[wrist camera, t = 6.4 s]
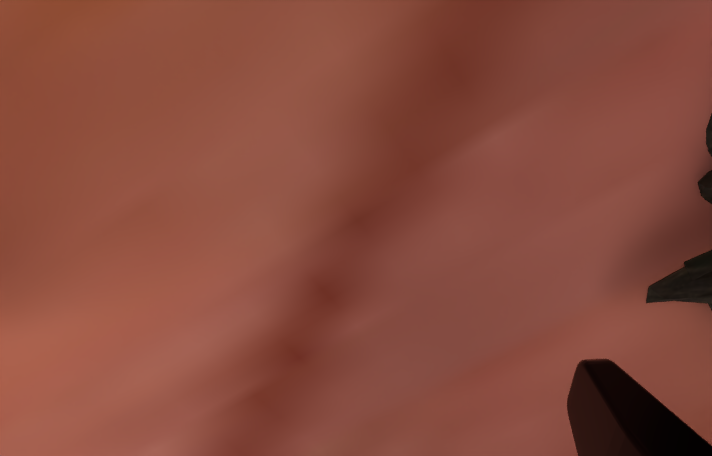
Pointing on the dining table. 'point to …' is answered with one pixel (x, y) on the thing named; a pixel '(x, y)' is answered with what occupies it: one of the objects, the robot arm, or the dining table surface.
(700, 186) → the wood
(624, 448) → the robot arm
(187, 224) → the dining table surface
